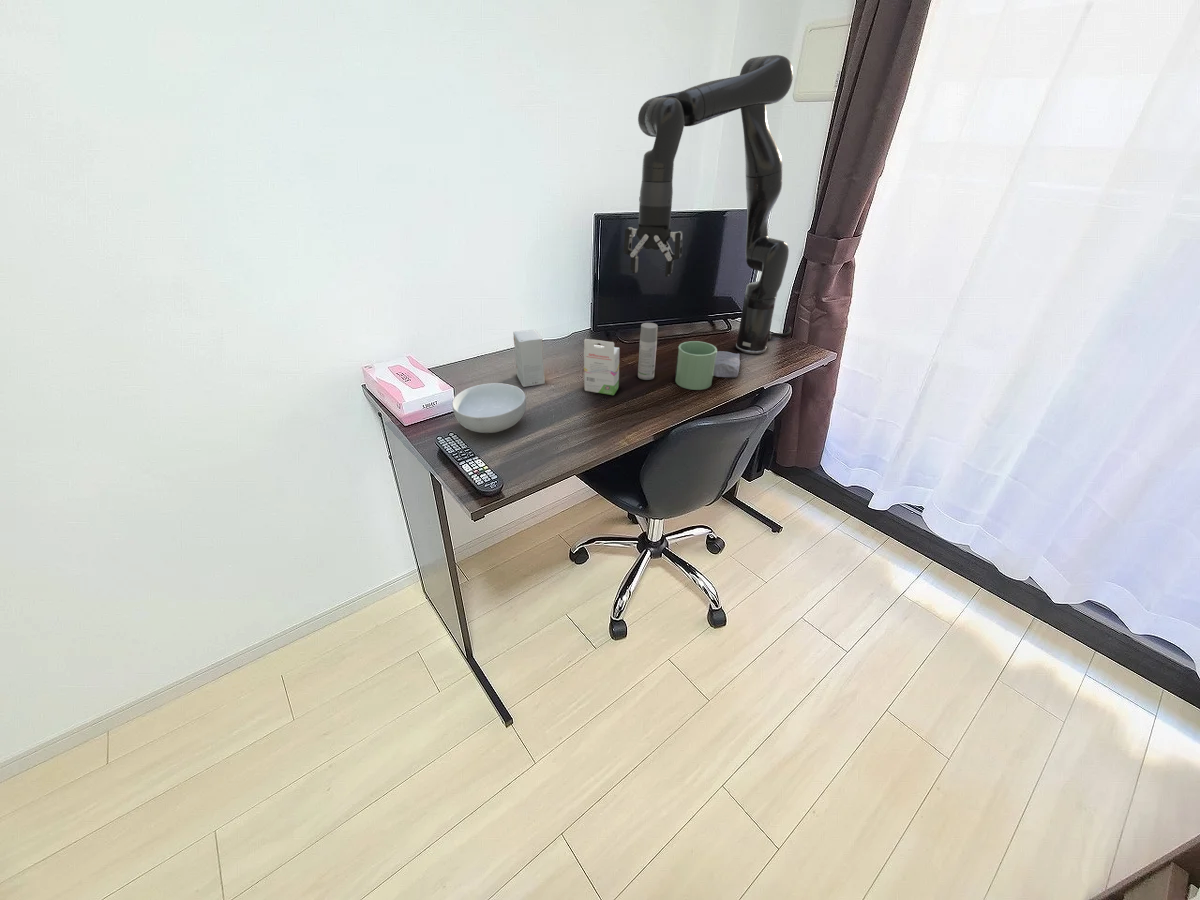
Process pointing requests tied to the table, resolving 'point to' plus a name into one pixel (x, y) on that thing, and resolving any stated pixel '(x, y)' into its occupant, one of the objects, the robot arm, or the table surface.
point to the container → (647, 351)
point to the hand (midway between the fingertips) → (651, 274)
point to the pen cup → (695, 365)
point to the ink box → (601, 367)
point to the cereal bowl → (489, 407)
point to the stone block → (726, 364)
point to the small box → (529, 357)
